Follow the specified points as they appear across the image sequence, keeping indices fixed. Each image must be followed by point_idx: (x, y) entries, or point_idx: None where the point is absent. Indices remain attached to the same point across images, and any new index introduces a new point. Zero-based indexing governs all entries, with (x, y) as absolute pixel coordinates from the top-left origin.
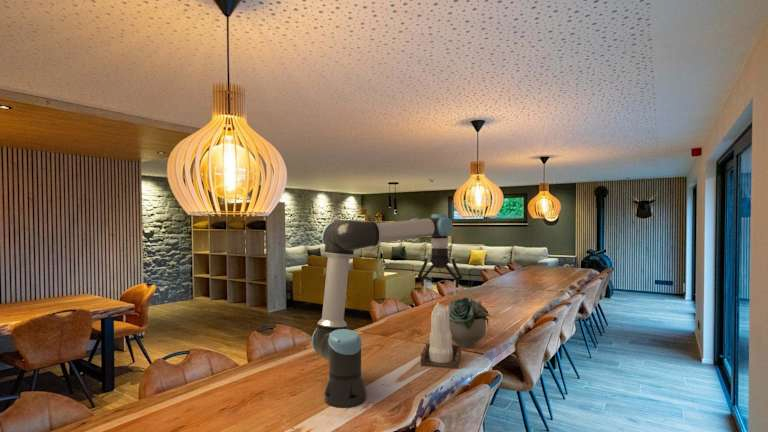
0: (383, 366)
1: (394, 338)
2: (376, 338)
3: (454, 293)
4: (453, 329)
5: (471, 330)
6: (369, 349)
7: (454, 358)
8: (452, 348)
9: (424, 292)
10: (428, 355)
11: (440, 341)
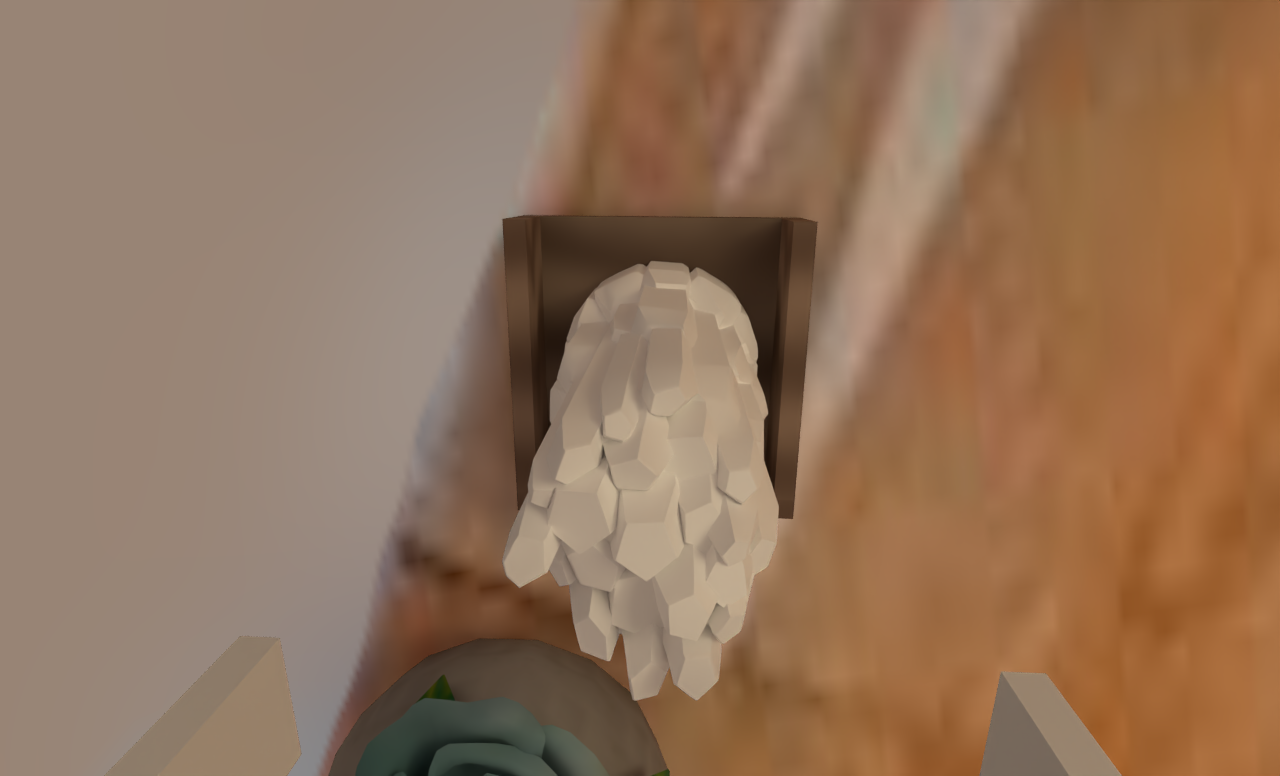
0: (1094, 138)
1: None
2: (1188, 750)
3: (237, 668)
4: (580, 700)
5: (426, 687)
6: (1233, 504)
7: None
8: None
9: (1052, 706)
10: None
11: (649, 297)
